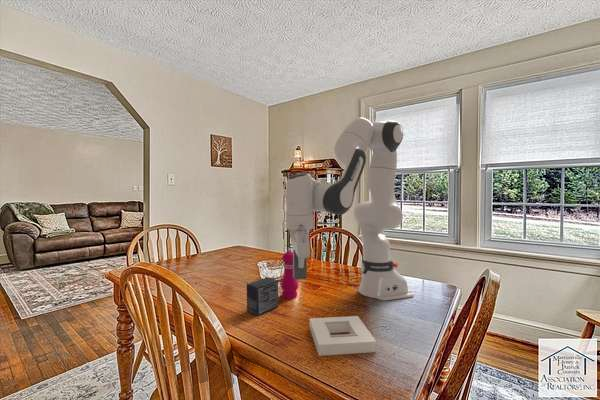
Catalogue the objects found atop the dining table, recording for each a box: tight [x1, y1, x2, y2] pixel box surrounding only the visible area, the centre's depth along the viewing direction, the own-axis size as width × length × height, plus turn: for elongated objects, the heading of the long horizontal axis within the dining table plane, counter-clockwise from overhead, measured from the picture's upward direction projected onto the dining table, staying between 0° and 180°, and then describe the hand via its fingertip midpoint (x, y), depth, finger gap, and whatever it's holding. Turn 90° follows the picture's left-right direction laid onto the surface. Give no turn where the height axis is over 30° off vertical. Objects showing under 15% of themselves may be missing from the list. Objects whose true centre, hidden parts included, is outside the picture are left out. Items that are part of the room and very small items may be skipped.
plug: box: [292, 248, 308, 281], centre depth 97 cm, size 4×4×9 cm
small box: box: [246, 277, 279, 317], centre depth 109 cm, size 11×6×10 cm, turn 141°
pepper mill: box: [280, 247, 299, 300], centre depth 122 cm, size 7×7×20 cm
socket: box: [309, 315, 377, 357], centre depth 88 cm, size 16×16×3 cm
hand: (299, 265), depth 97 cm, fingers closed on plug, 4 cm apart
